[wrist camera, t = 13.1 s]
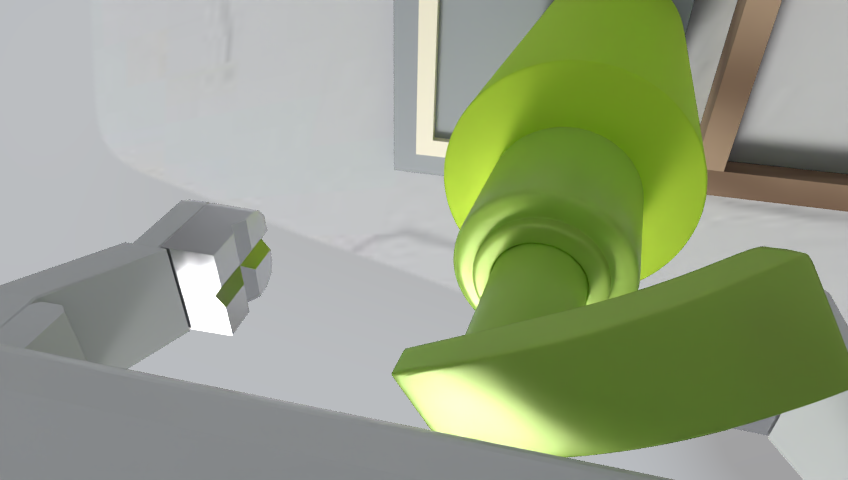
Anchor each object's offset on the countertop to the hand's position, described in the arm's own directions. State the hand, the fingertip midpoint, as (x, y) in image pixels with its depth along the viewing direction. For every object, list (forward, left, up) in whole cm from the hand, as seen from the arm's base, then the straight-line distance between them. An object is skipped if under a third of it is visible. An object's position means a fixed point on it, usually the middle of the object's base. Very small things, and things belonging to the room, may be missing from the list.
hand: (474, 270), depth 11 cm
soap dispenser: (0, +3, -17) cm, 17 cm away
